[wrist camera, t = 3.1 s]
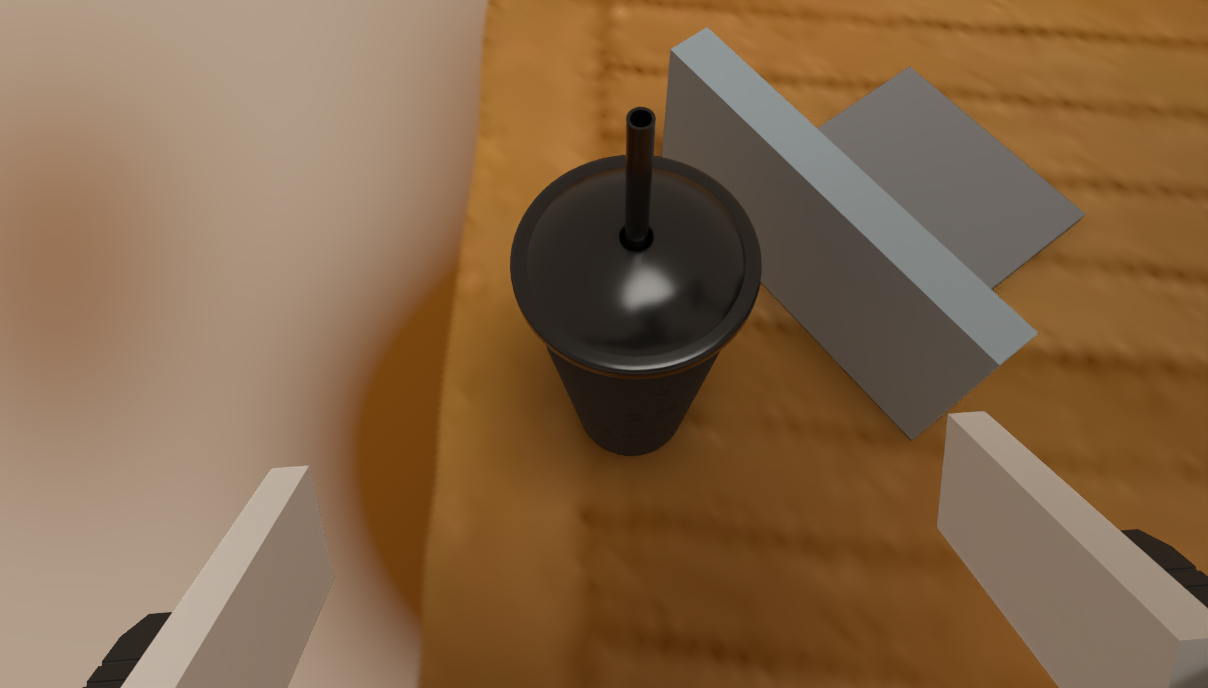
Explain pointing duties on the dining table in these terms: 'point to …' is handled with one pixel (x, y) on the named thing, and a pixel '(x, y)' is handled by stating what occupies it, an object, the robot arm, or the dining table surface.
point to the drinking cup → (635, 286)
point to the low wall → (838, 242)
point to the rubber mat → (952, 176)
